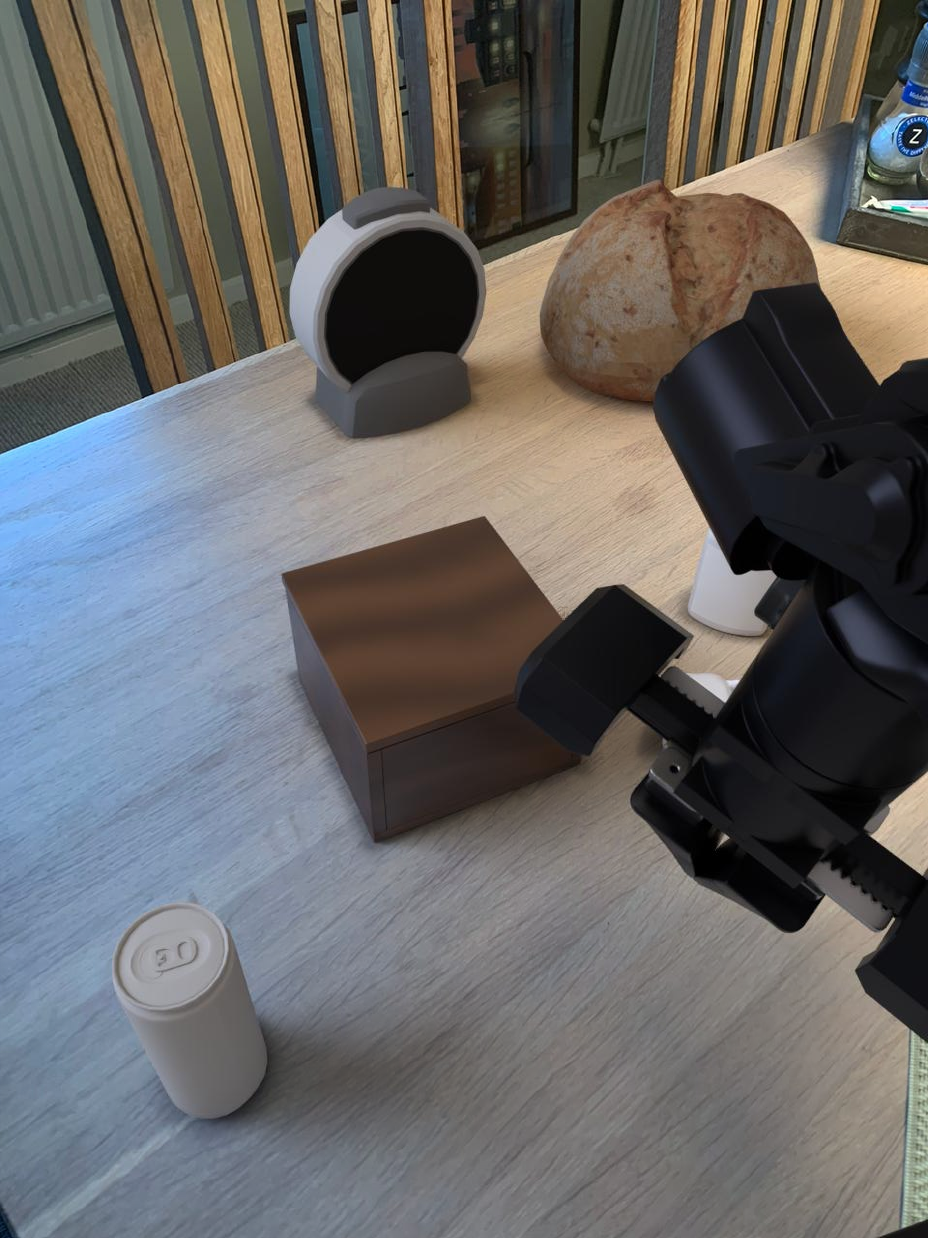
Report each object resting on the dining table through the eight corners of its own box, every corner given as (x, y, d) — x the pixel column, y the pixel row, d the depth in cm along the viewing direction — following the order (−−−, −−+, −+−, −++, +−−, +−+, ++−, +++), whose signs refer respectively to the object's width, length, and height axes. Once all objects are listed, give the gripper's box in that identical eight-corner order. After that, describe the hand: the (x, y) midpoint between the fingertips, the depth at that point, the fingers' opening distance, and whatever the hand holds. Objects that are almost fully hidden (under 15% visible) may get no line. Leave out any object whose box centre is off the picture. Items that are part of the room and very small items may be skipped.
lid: (282, 582, 60) (280, 572, 59) (484, 524, 64) (484, 515, 64) (366, 754, 51) (365, 744, 50) (595, 673, 55) (597, 663, 55)
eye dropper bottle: (736, 653, 68) (779, 517, 59) (676, 607, 71) (709, 471, 62) (778, 626, 70) (825, 490, 61) (718, 583, 73) (755, 447, 64)
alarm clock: (336, 453, 83) (318, 241, 71) (287, 395, 90) (262, 190, 77) (499, 401, 89) (509, 198, 77) (442, 350, 96) (443, 154, 83)
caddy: (299, 680, 65) (285, 589, 60) (484, 621, 70) (488, 530, 64) (374, 843, 57) (366, 754, 51) (580, 764, 61) (595, 674, 55)
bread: (796, 305, 103) (837, 156, 93) (831, 432, 87) (885, 268, 76) (543, 288, 105) (555, 140, 94) (530, 410, 89) (542, 247, 78)
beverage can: (159, 1040, 49) (101, 920, 40) (257, 1007, 50) (220, 883, 41) (175, 1139, 46) (115, 1031, 37) (279, 1101, 47) (244, 988, 38)
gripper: (1252, 718, 30) (979, 881, 43) (733, 390, 35) (633, 623, 48) (1115, 1010, 25) (854, 1092, 38) (536, 573, 30) (485, 777, 43)
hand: (698, 870), depth 42 cm, fingers closed
